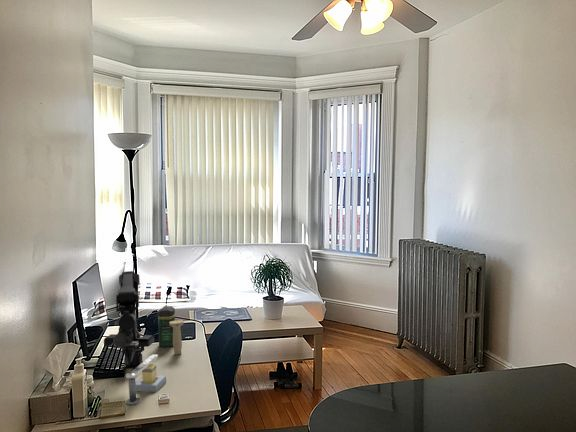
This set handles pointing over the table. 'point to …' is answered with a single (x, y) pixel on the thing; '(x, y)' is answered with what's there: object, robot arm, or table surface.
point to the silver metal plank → (141, 367)
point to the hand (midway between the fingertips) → (130, 361)
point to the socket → (150, 384)
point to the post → (132, 393)
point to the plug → (149, 374)
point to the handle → (177, 335)
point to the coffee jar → (166, 326)
